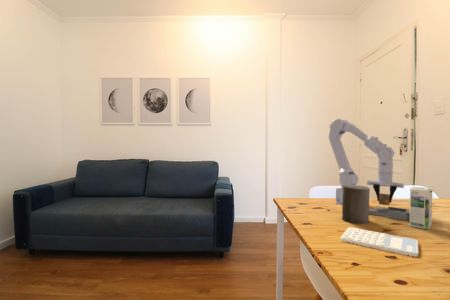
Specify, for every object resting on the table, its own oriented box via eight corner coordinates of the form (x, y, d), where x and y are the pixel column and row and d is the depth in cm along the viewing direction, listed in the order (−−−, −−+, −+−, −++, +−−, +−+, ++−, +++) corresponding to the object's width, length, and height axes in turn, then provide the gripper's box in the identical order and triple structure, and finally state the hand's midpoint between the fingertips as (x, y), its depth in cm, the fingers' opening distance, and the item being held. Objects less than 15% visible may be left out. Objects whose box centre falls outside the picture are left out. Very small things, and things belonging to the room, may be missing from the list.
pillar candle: (341, 221, 101) (342, 184, 101) (342, 215, 110) (343, 180, 109) (369, 225, 97) (370, 186, 96) (368, 218, 105) (369, 182, 105)
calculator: (348, 231, 92) (348, 225, 92) (417, 244, 80) (418, 238, 80) (339, 242, 81) (339, 236, 81) (418, 259, 69) (418, 252, 69)
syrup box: (408, 226, 96) (409, 187, 96) (413, 223, 100) (414, 186, 99) (427, 230, 92) (428, 190, 91) (431, 226, 95) (432, 188, 95)
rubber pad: (375, 210, 119) (375, 209, 119) (376, 207, 125) (376, 206, 125) (393, 212, 115) (393, 211, 115) (393, 209, 121) (393, 208, 121)
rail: (357, 214, 112) (357, 206, 112) (360, 210, 118) (360, 203, 118) (409, 222, 101) (409, 213, 101) (409, 217, 107) (409, 209, 107)
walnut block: (378, 204, 120) (379, 194, 119) (379, 202, 123) (380, 193, 123) (389, 205, 117) (389, 195, 117) (389, 203, 120) (389, 194, 120)
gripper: (366, 172, 121) (365, 200, 121) (403, 174, 112) (402, 205, 112) (368, 171, 126) (367, 198, 127) (404, 173, 118) (403, 202, 118)
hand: (384, 201), depth 120 cm, fingers closed on walnut block, 4 cm apart
